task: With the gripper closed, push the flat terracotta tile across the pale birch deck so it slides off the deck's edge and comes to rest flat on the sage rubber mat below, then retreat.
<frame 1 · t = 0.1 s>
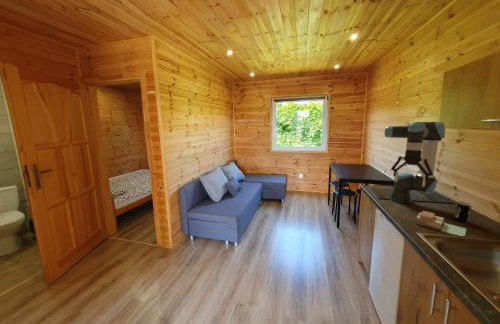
hand: (409, 183, 126), 28 cm above the counter, fingers open, 13 cm apart
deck: (429, 223, 133), on the counter
mat: (453, 230, 124), on the counter
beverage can: (461, 220, 136), on the counter
tile: (426, 216, 133), point 4 cm above the counter, touching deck
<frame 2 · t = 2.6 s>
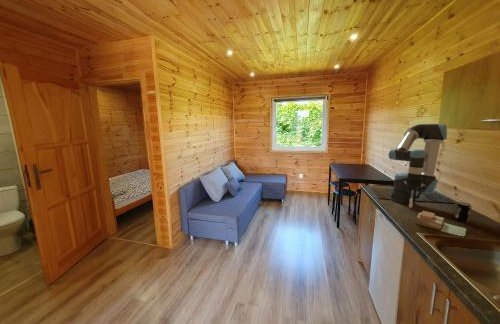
hand: (410, 206, 139), 8 cm above the counter, fingers closed
nothing on the counter moved.
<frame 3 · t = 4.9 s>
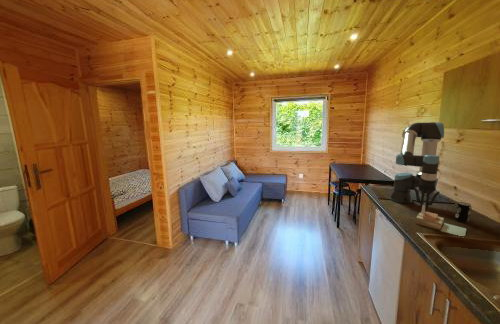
hand: (423, 213, 135), 6 cm above the counter, fingers closed
tile: (430, 217, 132), point 4 cm above the counter, touching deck, gripper
everything else where it was.
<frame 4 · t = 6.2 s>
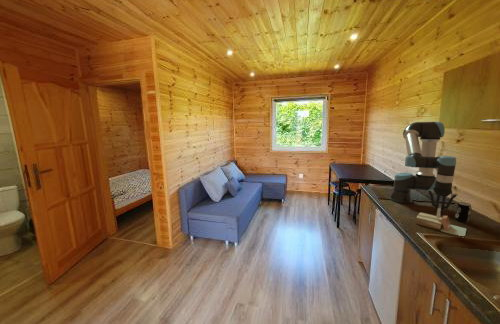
hand: (438, 217, 129), 6 cm above the counter, fingers closed
tile: (443, 222, 127), point 3 cm above the counter, tilted 69°, touching mat
everything else where it was.
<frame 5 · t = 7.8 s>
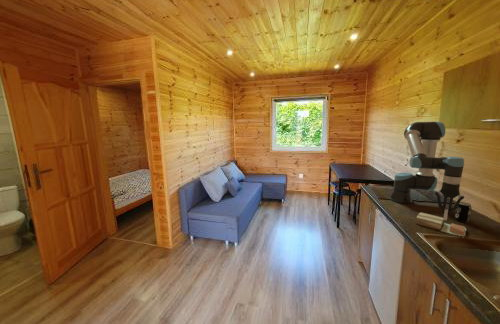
hand: (445, 219, 127), 5 cm above the counter, fingers closed
tile: (457, 227, 123), point 2 cm above the counter, tilted 180°, touching mat
everything else where it was.
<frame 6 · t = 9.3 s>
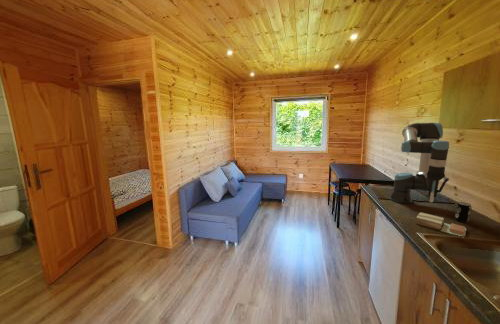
hand: (431, 201, 131), 15 cm above the counter, fingers closed
nothing on the counter moved.
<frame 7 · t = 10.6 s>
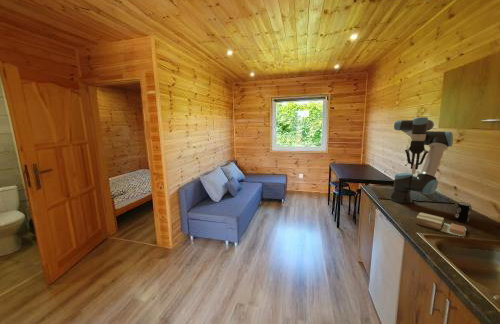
hand: (413, 173, 144), 29 cm above the counter, fingers closed
nothing on the counter moved.
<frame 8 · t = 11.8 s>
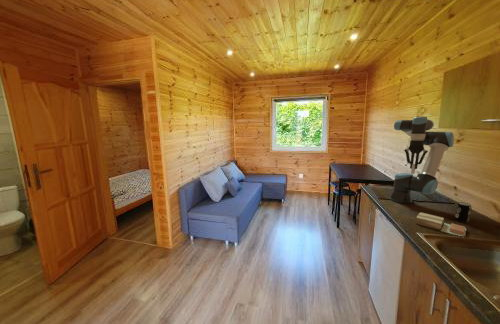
hand: (412, 173, 144), 29 cm above the counter, fingers closed
nothing on the counter moved.
at the end: tile point 2.3 cm above the counter; tile inside the target area on the mat (1.3 cm from its centre), point 2.3 cm above the mat's base; tile touching mat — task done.
